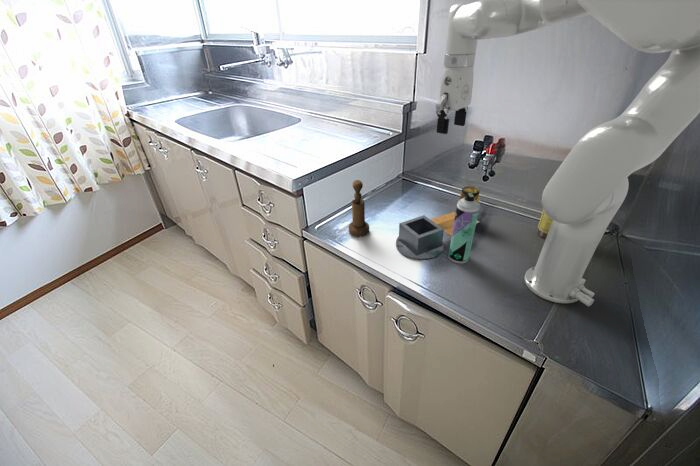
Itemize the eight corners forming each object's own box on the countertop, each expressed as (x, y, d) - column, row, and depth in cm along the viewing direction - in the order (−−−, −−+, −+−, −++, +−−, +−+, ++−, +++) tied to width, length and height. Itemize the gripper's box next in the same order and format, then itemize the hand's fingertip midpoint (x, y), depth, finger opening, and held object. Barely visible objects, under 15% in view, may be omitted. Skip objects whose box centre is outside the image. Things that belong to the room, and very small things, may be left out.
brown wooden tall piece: (346, 235, 101) (343, 184, 91) (352, 225, 106) (349, 175, 96) (366, 238, 99) (365, 186, 89) (371, 227, 105) (371, 177, 94)
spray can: (455, 249, 93) (466, 187, 82) (472, 257, 90) (486, 194, 78) (444, 257, 90) (454, 194, 79) (461, 266, 87) (474, 201, 76)
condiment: (479, 222, 105) (486, 189, 98) (466, 232, 100) (472, 198, 93) (459, 214, 109) (465, 182, 103) (446, 224, 105) (450, 191, 98)
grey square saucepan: (470, 244, 95) (474, 224, 91) (414, 266, 87) (416, 245, 84) (439, 222, 105) (441, 204, 101) (387, 240, 98) (387, 221, 94)
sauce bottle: (562, 241, 94) (587, 179, 83) (539, 240, 95) (561, 178, 84) (554, 229, 99) (577, 169, 88) (532, 228, 100) (552, 169, 89)
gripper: (455, 66, 74) (447, 138, 84) (488, 58, 84) (477, 124, 94) (428, 65, 79) (422, 134, 88) (461, 58, 89) (453, 120, 98)
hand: (450, 129), depth 91 cm, fingers open, 9 cm apart
